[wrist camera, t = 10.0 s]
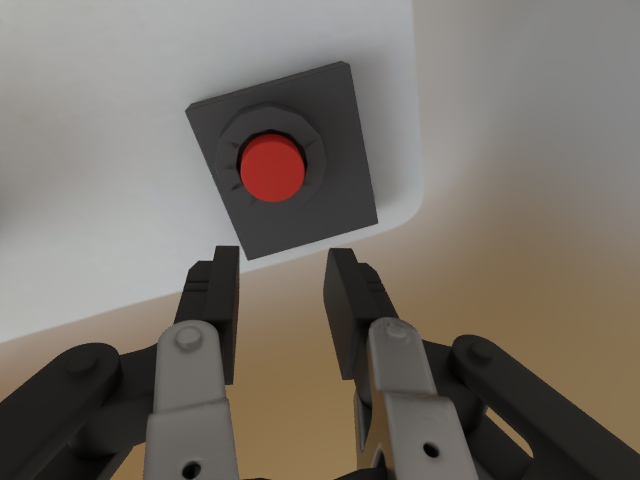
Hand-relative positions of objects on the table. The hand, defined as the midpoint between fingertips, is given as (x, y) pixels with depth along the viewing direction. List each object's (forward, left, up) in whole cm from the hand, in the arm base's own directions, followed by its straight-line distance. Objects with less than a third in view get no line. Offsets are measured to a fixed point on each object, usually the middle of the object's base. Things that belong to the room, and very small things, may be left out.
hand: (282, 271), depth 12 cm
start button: (0, 0, -12) cm, 12 cm away
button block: (+1, +1, -15) cm, 15 cm away
